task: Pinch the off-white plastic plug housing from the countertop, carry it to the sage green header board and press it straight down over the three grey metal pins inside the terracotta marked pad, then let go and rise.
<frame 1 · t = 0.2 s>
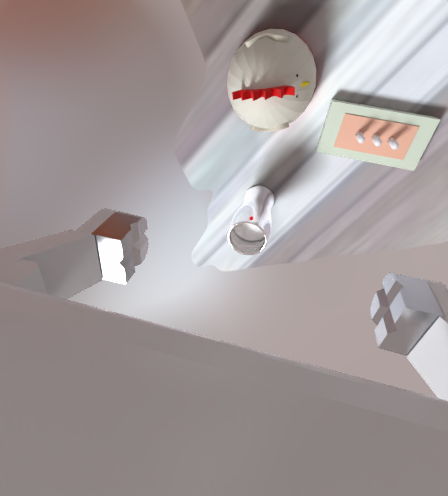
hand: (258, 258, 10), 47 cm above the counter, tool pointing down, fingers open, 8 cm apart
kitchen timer: (271, 81, 49), on the counter
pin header: (372, 133, 50), on the counter
beer glass: (259, 198, 61), on the counter
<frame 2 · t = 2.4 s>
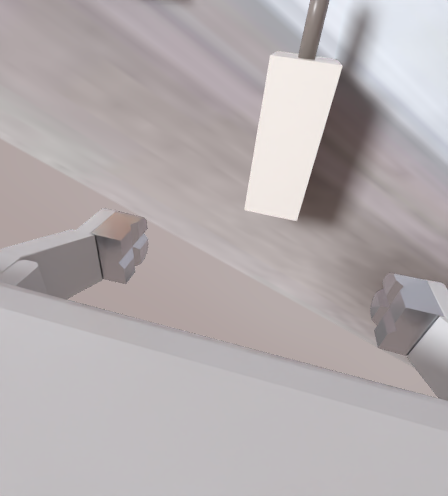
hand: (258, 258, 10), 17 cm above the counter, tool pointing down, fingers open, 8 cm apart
plug housing: (289, 130, 24), on the counter
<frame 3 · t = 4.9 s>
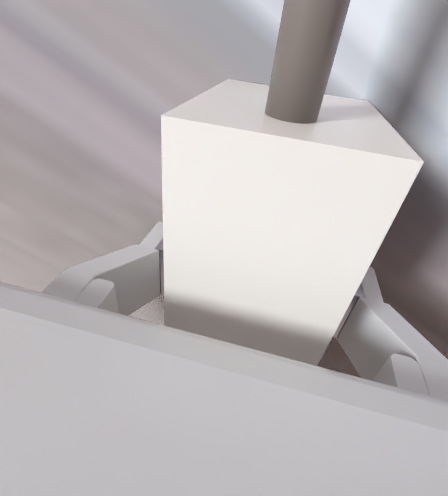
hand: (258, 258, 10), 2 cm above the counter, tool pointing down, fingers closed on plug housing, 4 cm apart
plug housing: (263, 234, 11), on the counter, touching gripper
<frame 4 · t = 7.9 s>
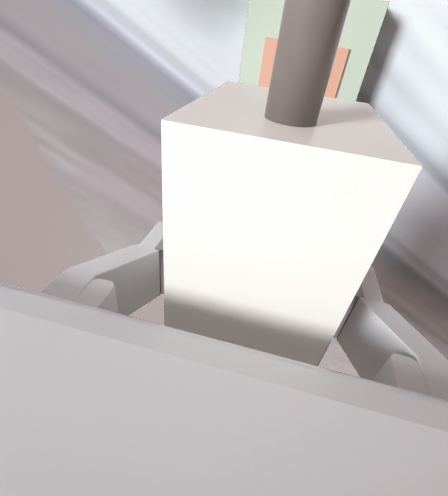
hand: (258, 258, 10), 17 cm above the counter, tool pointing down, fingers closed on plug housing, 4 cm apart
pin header: (287, 127, 24), on the counter
plug housing: (263, 236, 12), point 16 cm above the counter, touching gripper
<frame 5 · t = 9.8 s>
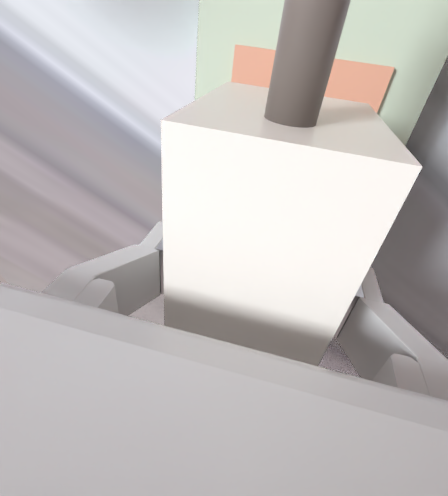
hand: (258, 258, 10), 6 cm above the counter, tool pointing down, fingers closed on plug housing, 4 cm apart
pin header: (280, 185, 15), on the counter
plug housing: (263, 236, 12), point 4 cm above the counter, touching gripper
when the fingers open (4 cm above the counter, at t = 11.2 s): plug housing stays where it is, resting on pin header.
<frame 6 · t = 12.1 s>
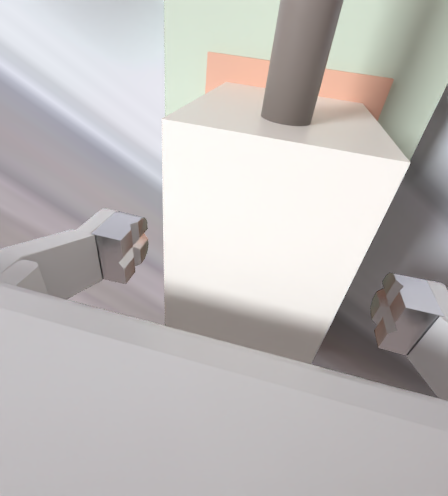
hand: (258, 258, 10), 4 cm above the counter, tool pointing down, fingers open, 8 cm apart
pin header: (267, 206, 13), on the counter
plug housing: (261, 233, 12), point 2 cm above the counter, touching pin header
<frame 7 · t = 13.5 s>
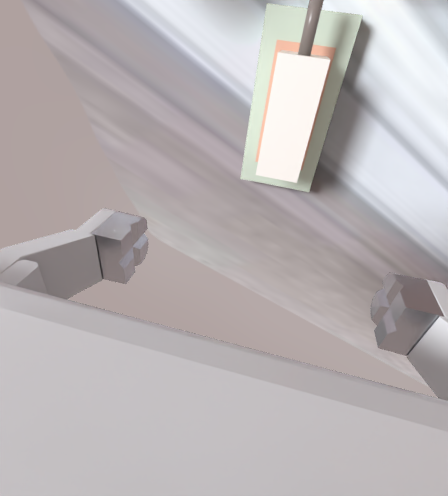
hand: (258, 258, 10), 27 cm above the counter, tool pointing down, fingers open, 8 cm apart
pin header: (291, 107, 31), on the counter
plug housing: (290, 112, 30), point 2 cm above the counter, touching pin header
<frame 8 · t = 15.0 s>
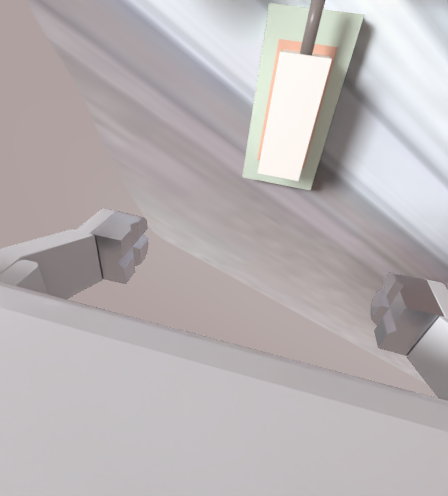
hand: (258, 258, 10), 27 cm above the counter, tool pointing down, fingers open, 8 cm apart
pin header: (293, 106, 32), on the counter
plug housing: (292, 111, 30), point 2 cm above the counter, touching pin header
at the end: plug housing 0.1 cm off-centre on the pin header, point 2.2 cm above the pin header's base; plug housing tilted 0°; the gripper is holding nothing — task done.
